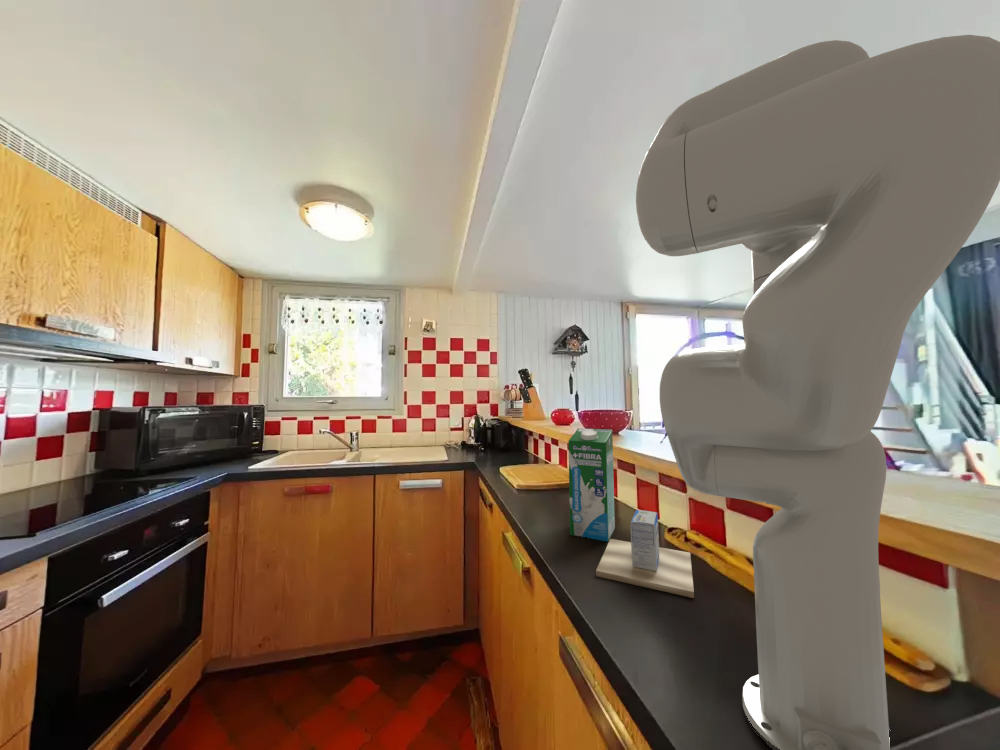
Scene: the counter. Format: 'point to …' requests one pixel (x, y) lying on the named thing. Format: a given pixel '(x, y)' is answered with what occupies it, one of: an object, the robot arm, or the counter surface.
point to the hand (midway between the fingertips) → (788, 397)
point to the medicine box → (645, 540)
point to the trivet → (668, 577)
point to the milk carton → (591, 484)
